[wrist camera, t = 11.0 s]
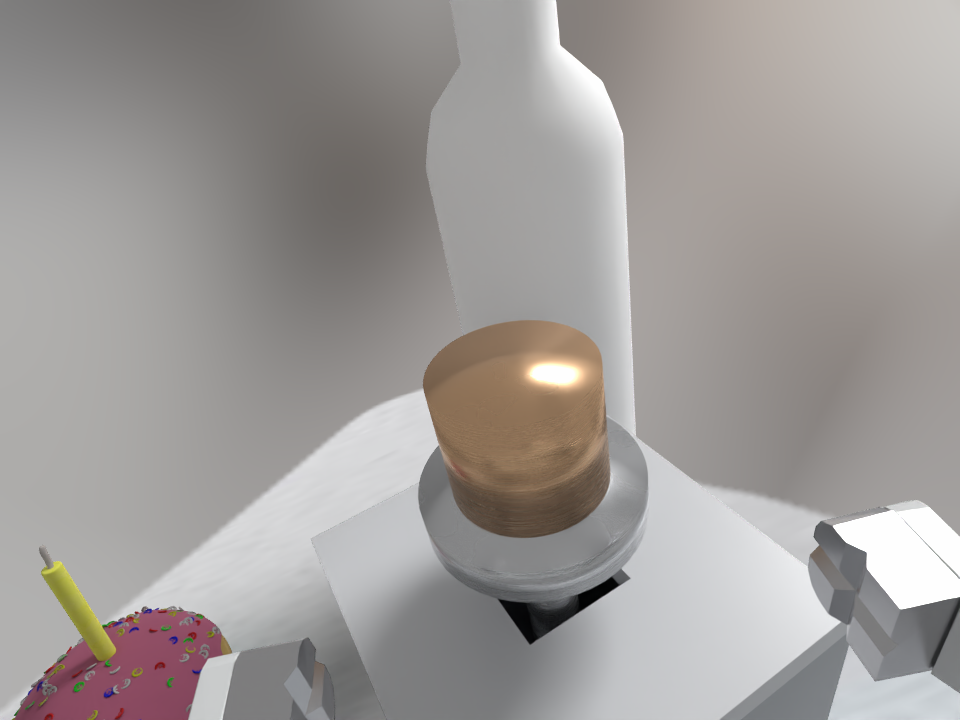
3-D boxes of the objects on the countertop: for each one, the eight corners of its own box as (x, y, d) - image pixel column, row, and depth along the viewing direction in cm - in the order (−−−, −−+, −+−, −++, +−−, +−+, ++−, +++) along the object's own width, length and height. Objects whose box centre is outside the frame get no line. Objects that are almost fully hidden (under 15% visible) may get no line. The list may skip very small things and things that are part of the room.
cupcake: (114, 691, 30) (-46, 527, 23) (287, 650, 30) (177, 474, 23) (32, 922, 22) (-234, 778, 16) (260, 864, 23) (92, 699, 16)
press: (607, 602, 29) (586, 384, 22) (817, 840, 21) (896, 611, 13) (397, 742, 25) (289, 536, 18) (547, 1098, 17) (458, 975, 10)
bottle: (471, 512, 35) (293, -161, 19) (552, 432, 40) (466, -170, 23) (589, 580, 30) (491, -255, 14) (667, 480, 35) (664, -244, 18)
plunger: (599, 631, 26) (556, 249, 16) (742, 803, 20) (810, 373, 11) (443, 737, 24) (283, 363, 14) (556, 967, 18) (419, 604, 8)
